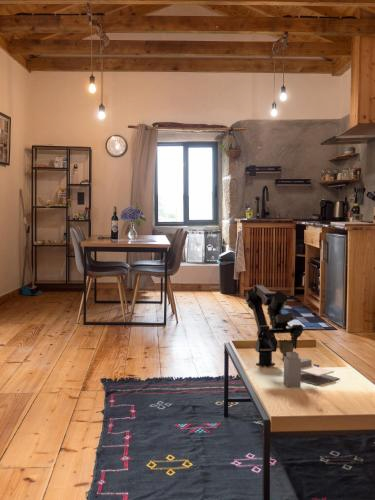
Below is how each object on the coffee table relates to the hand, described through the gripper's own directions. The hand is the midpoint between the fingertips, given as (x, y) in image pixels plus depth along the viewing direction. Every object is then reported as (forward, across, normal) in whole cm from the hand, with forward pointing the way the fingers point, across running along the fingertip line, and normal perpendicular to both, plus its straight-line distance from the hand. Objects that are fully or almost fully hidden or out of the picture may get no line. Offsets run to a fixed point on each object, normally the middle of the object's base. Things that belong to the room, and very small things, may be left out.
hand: (284, 348), depth 217 cm
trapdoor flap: (+6, +12, +8) cm, 16 cm away
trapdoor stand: (+8, +12, +10) cm, 18 cm away
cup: (-16, +15, +36) cm, 42 cm away
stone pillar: (+15, 0, +3) cm, 15 cm away
